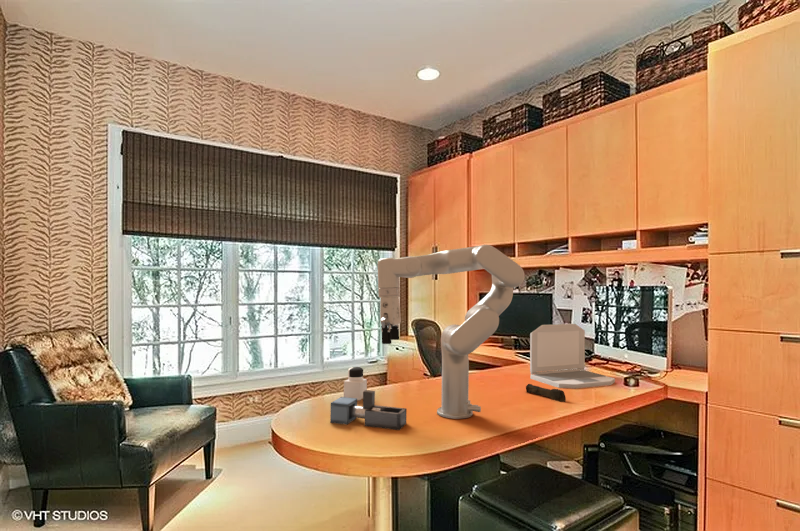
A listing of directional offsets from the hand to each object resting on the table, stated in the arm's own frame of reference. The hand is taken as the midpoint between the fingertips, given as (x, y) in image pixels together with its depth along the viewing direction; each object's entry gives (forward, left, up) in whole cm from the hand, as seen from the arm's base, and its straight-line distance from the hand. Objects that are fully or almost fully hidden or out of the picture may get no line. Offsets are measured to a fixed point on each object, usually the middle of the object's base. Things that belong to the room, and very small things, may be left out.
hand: (390, 341), depth 161 cm
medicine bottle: (+21, -18, -26) cm, 38 cm away
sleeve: (-2, +10, -26) cm, 28 cm away
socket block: (+13, +10, -26) cm, 31 cm away
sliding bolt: (+7, +10, -25) cm, 27 cm away
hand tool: (-52, -47, -26) cm, 75 cm away
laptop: (-65, -83, -26) cm, 108 cm away
